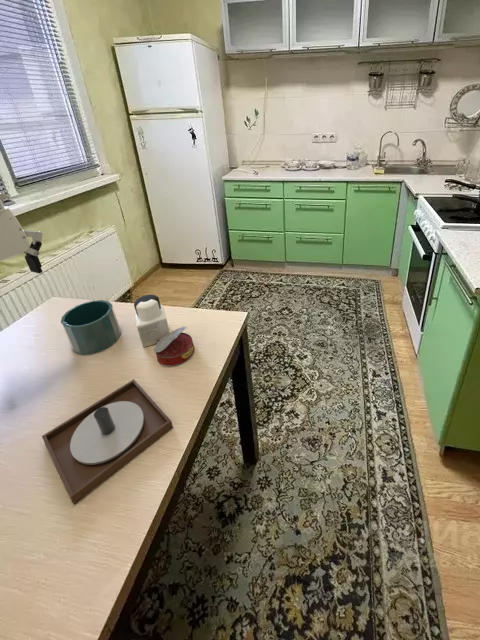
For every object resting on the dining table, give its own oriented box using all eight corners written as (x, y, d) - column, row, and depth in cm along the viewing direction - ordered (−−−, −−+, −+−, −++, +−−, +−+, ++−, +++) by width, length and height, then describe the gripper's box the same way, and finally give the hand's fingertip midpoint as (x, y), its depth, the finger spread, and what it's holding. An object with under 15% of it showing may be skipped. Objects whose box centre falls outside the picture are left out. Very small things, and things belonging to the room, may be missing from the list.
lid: (86, 482, 59) (75, 461, 56) (62, 436, 67) (51, 415, 64) (156, 429, 68) (150, 409, 65) (127, 394, 76) (120, 374, 73)
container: (140, 332, 97) (129, 296, 91) (167, 324, 100) (158, 288, 94) (143, 348, 91) (131, 310, 85) (171, 339, 94) (162, 302, 88)
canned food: (172, 379, 86) (147, 364, 80) (163, 353, 94) (140, 337, 87) (206, 351, 88) (185, 334, 81) (195, 328, 95) (174, 310, 88)
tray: (74, 504, 56) (70, 498, 55) (45, 442, 67) (41, 436, 66) (173, 427, 69) (171, 420, 68) (135, 385, 79) (133, 379, 78)
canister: (81, 361, 87) (70, 334, 83) (66, 340, 95) (54, 314, 90) (128, 337, 95) (119, 311, 91) (110, 320, 103) (101, 295, 99)
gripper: (13, 192, 70) (42, 262, 78) (-94, 219, 56) (-45, 301, 64) (36, 195, 67) (64, 267, 75) (-70, 224, 53) (-22, 308, 61)
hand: (14, 282), depth 69 cm, fingers open, 9 cm apart
